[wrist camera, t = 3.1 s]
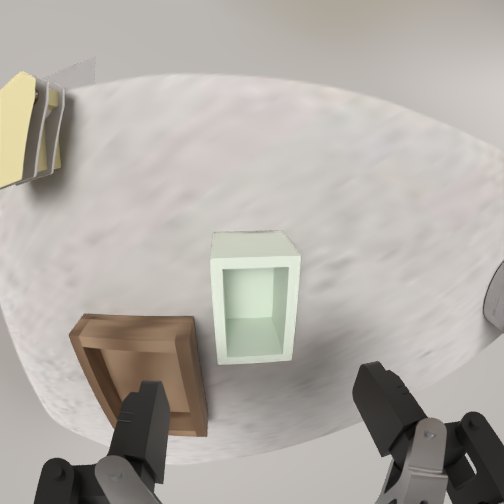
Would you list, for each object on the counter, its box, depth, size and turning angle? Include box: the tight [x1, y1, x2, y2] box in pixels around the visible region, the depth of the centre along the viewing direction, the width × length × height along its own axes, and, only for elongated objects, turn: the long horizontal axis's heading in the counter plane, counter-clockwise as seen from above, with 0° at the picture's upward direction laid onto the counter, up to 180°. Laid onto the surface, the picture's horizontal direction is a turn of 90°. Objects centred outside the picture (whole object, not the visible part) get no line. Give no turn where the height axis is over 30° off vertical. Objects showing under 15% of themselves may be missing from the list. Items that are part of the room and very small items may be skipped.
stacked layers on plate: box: [0, 57, 96, 190], centre depth 12 cm, size 10×9×6 cm
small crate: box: [210, 231, 301, 365], centre depth 17 cm, size 5×7×5 cm, turn 0°
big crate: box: [69, 314, 208, 437], centre depth 20 cm, size 10×12×3 cm
